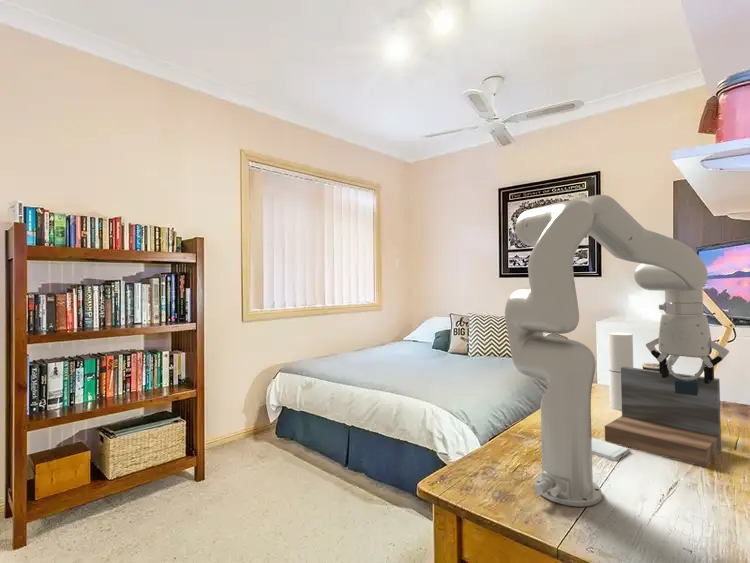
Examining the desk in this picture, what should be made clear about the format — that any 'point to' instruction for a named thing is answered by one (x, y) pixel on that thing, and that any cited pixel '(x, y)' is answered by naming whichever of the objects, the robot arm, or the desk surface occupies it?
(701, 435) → the display stand
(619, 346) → the cylindrical container
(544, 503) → the desk surface
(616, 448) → the hard drive
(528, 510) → the desk surface
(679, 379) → the watch
